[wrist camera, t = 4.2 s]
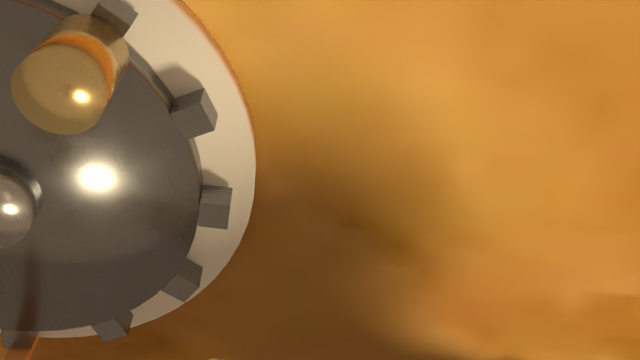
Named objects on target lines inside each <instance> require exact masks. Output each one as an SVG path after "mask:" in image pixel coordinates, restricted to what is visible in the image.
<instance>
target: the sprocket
mask: <svg viewBox="0 0 640 360" xmlns="http://www.w3.org/2000/svg"><path fill="white" fill-rule="evenodd" d="M137 16H138V13H137V12H136V11H134V10H133V9H131V8H130V7H129V6H127V5H126V4H124V3H123V2H122V1H120V0H100V1H99V3H98V4H97V5H96V7H95V8H94V10H93V12H92V13H91V15H88V14H80V13H79V12H76V11H74V10H72V9H70V8H68V7H66V6H64V5H61V4H59V3H57V2H55V1H53V0H0V329H1V334H2V341H3V347H5V348H18V349H30V350H31V348H32V346H33V343H34V341H35V339H36V337H37V334H38V332H39V331H58V330H67V329H74V328H81V327H85V326H89V325H91V327H92V328H93V329H94V331H95V332H96V333H97V334H98V335H99V337H100V338H101V339H102V340H103V341H104V343H105V342H108V341H111V340H115V339H118V338H121V337H125V336H128V332H129V329H130V325H131V322H132V318H133V314H132V313H131V310H133V309H134V308H136V307H138V306H140V305H141V304H143V303H144V302H146V301H147V300H149V299H150V298H152V297H153V296H154V295H156V294H157V293H158V292H159V291H160V290H161V291H163V292H165V293H167V294H168V295H170V296H172V297H174V298H176V299H178V300H180V301H182V302H185V301H186V300H187V299H188V298H189V297H190V296H191V295H192V294H193V293H194V292H195V291H196V290H197V289H198V288H199V287H200V281H201V276H202V270H203V267H202V266H200V265H198V264H196V263H194V262H193V261H191V260H189V259H187V258H186V257H187V255H188V253H189V251H190V248H191V245H192V242H193V240H194V237H195V234H196V229H197V224H198V226H199V227H208V228H217V229H226V230H227V229H228V221H229V213H230V205H231V197H232V189H233V188H228V187H220V186H212V185H203V175H202V168H201V161H200V155H199V152H198V148H197V145H196V142H195V138H194V137H197V136H200V135H203V134H206V133H209V132H212V131H214V130H215V127H216V122H217V117H218V113H217V111H216V109H215V107H214V105H213V104H212V102H211V100H210V98H209V96H208V94H207V92H206V90H205V88H202V89H199V90H196V91H194V92H191V93H188V94H185V95H183V96H180V97H177V98H174V97H173V95H172V94H171V92H170V91H169V89H168V88H167V87H166V85H165V84H164V83H163V82H162V81H161V79H160V78H159V77H158V76H157V74H156V73H155V72H154V71H153V70H152V68H151V67H150V66H149V65H148V64H146V63H145V62H144V61H143V60H142V59H141V58H140V57H139V56H138V55H137V54H136V53H135V52H134V51H133V50H132V49H131V48H130V47H128V46H127V44H126V42H125V40H124V38H123V37H124V35H125V34H126V32H127V31H128V30H129V28H130V27H131V25H132V24H133V22H134V20H135V19H136V17H137Z"/></svg>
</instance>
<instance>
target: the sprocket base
mask: <svg viewBox="0 0 640 360" xmlns="http://www.w3.org/2000/svg"><path fill="white" fill-rule="evenodd" d="M53 1H55V2H57V3H59V4H61V5H64V6H66V7H68V8H70V9H72V10H74V11H76V12H79V13H80V14H88V15H91V13H92V12H93V10H94V8H95V7H96V5H97V4H98V3H99V1H100V0H53ZM120 1H122V2H123V3H124V4H126V5H127V6H129V7H130V8H131V9H133V10H134V11H136V12H137V13H138V16H137V17H136V19H135V20H134V22H133V24H132V25H131V27H130V28H129V30H128V31H127V32H126V34H125V35H124V37H123V38H124V40H125V42H126V44H127V46H128V47H130V48H131V49H132V50H133V51H134V52H135V53H136V54H137V55H138V56H139V57H140V58H141V59H142V60H143V61H144V62H145V63H146V64H148V65H149V66H150V67H151V68H152V70H153V71H154V72H155V73H156V74H157V76H158V77H159V78H160V79H161V81H162V82H163V83H164V84H165V85H166V87H167V88H168V89H169V91H170V92H171V94H172V95H173V97H174V98H177V97H180V96H183V95H185V94H188V93H191V92H194V91H196V90H199V89H202V88H205V90H206V92H207V94H208V96H209V98H210V100H211V102H212V104H213V105H214V107H215V109H216V111H217V113H218V117H217V122H216V127H215V130H214V131H212V132H209V133H206V134H203V135H200V136H197V137H194V138H195V142H196V145H197V148H198V152H199V155H200V161H201V168H202V175H203V185H212V186H220V187H228V188H233V189H232V197H231V205H230V213H229V221H228V229H227V230H226V229H217V228H208V227H199V226H198V224H197V229H196V234H195V237H194V240H193V242H192V245H191V248H190V251H189V253H188V255H187V257H186V258H187V259H189V260H191V261H193V262H194V263H196V264H198V265H200V266H202V267H203V270H202V276H201V281H200V287H199V288H198V289H197V290H196V291H195V292H194V293H193V294H192V295H191V296H190V297H189V298H188V299H187V300H186V301H185V302H182V301H180V300H178V299H176V298H174V297H172V296H170V295H168V294H167V293H165V292H163V291H161V290H160V291H159V292H158V293H157V294H156V295H154V296H153V297H152V298H150V299H149V300H147V301H146V302H144V303H143V304H141V305H140V306H138V307H136V308H134V309H133V310H131V313H132V314H133V318H132V322H131V325H130V328H132V327H135V326H138V325H141V324H143V323H146V322H149V321H152V320H154V319H157V318H159V317H161V316H163V315H165V314H167V313H169V312H171V311H173V310H175V309H177V308H178V307H180V306H181V305H183V304H184V303H186V302H187V301H189V300H190V299H192V298H193V297H195V296H196V295H197V294H198V293H200V292H201V291H202V290H203V289H204V288H205V287H206V286H208V285H209V284H210V283H211V282H212V281H213V280H214V279H215V278H216V277H217V275H218V274H219V273H220V272H221V271H222V269H223V268H224V267H225V266H226V265H227V263H228V262H229V260H230V259H231V257H232V255H233V254H234V252H235V250H236V249H237V247H238V246H239V244H240V241H241V239H242V237H243V234H244V232H245V229H246V227H247V224H248V222H249V217H250V213H251V209H252V204H253V200H254V189H255V175H256V159H257V156H256V145H255V133H254V128H253V124H252V120H251V115H250V111H249V107H248V103H247V101H246V98H245V96H244V93H243V91H242V88H241V86H240V83H239V81H238V78H237V76H236V74H235V72H234V70H233V69H232V67H231V65H230V63H229V61H228V60H227V58H226V56H225V54H224V52H223V51H222V49H221V47H220V46H219V45H218V43H217V42H216V41H215V39H214V38H213V36H212V35H211V34H210V32H209V31H208V30H207V28H206V27H205V26H204V24H203V23H202V22H201V20H200V19H199V18H198V17H197V16H196V15H195V14H194V13H193V12H192V11H191V10H190V9H189V8H188V6H187V5H186V4H185V3H184V2H183V1H182V0H120ZM0 333H1V329H0ZM92 335H98V334H97V333H96V332H95V331H94V329H93V328H92V327H91V325H89V326H85V327H81V328H74V329H67V330H58V331H39V332H38V334H37V337H36V339H35V341H34V343H33V346H32V348H31V350H30V349H18V348H10V350H9V352H8V354H7V356H6V358H5V360H31V357H32V355H33V353H34V351H35V348H36V346H37V344H38V342H39V339H40V337H46V338H68V337H85V336H92Z"/></svg>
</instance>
